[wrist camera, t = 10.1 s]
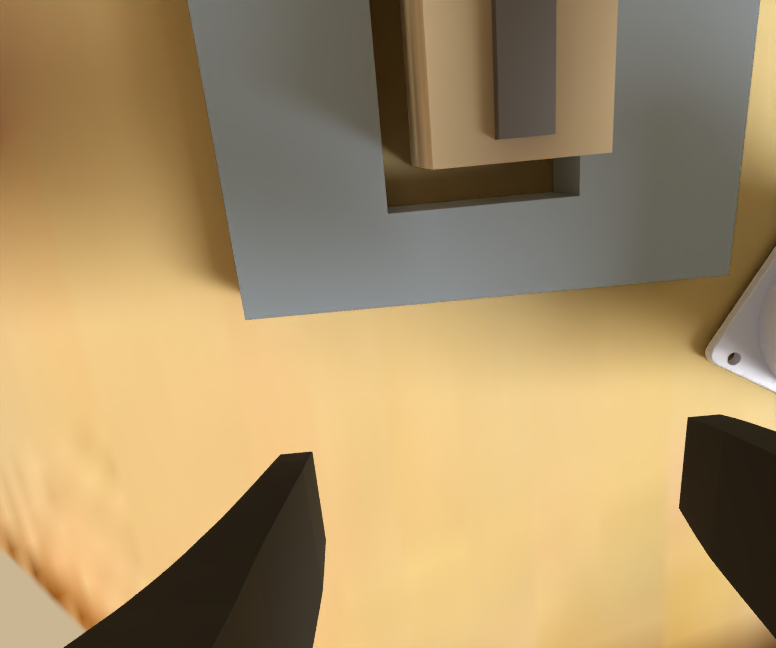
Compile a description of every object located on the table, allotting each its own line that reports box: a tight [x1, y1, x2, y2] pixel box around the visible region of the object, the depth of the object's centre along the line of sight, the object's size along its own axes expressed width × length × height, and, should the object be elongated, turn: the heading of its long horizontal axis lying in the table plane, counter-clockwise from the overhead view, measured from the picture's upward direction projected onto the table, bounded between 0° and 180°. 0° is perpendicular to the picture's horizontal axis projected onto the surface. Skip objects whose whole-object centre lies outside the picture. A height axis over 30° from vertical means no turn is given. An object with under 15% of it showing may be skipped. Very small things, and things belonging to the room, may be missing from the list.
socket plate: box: [187, 0, 760, 320], centre depth 16 cm, size 16×14×2 cm
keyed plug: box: [399, 0, 618, 170], centre depth 14 cm, size 4×6×7 cm, turn 5°
